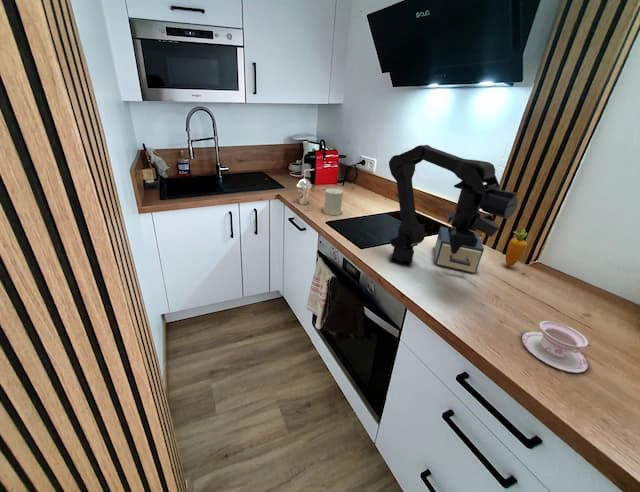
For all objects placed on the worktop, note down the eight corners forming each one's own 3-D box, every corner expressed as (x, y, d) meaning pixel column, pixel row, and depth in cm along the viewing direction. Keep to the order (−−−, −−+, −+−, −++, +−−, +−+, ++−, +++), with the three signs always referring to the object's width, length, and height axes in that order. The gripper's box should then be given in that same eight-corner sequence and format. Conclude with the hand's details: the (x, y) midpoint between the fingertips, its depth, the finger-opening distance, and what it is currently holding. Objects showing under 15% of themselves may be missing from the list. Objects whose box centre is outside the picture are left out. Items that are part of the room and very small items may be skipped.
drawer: (476, 278, 95) (483, 258, 92) (437, 269, 100) (443, 249, 97) (470, 256, 109) (476, 237, 106) (436, 249, 114) (441, 231, 110)
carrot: (510, 271, 101) (525, 234, 95) (496, 264, 106) (511, 228, 100) (520, 270, 103) (536, 232, 97) (506, 262, 107) (521, 226, 101)
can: (321, 213, 147) (323, 191, 142) (324, 207, 155) (326, 186, 151) (339, 216, 145) (342, 193, 140) (341, 210, 153) (344, 188, 148)
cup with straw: (302, 199, 167) (304, 165, 159) (314, 203, 162) (317, 168, 153) (292, 202, 162) (294, 167, 154) (304, 206, 156) (307, 170, 148)
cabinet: (475, 273, 100) (484, 249, 96) (434, 264, 105) (441, 240, 101) (470, 255, 111) (478, 233, 107) (434, 248, 116) (440, 226, 112)
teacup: (523, 356, 67) (533, 337, 65) (519, 326, 77) (527, 308, 74) (593, 383, 61) (607, 363, 59) (579, 347, 71) (591, 328, 68)
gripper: (509, 223, 71) (489, 275, 77) (495, 201, 86) (479, 246, 93) (458, 214, 75) (443, 265, 82) (453, 195, 91) (441, 239, 97)
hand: (453, 253), depth 88 cm, fingers closed
